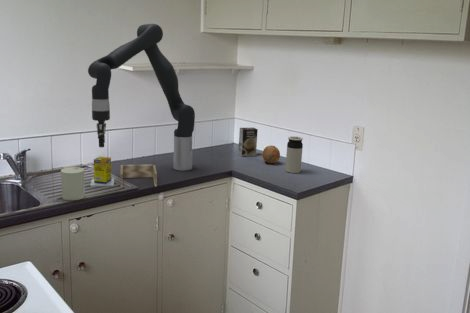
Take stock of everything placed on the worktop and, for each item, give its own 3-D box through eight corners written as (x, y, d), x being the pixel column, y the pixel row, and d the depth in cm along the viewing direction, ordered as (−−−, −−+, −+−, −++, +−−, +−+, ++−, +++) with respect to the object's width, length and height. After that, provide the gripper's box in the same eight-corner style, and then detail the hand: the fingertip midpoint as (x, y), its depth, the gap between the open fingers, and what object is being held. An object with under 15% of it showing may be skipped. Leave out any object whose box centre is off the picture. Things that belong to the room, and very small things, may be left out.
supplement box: (106, 184, 217) (106, 160, 214) (93, 182, 218) (93, 159, 215) (111, 180, 223) (111, 157, 220) (99, 179, 223) (98, 156, 221)
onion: (278, 161, 274) (279, 143, 271) (280, 165, 264) (281, 148, 261) (261, 160, 273) (262, 143, 271) (262, 165, 263) (263, 147, 261)
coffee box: (241, 157, 279) (243, 129, 275) (237, 154, 285) (239, 127, 281) (256, 156, 282) (258, 129, 278) (252, 153, 288) (253, 127, 284)
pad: (114, 179, 226) (114, 178, 226) (113, 186, 217) (113, 184, 216) (91, 180, 224) (91, 178, 224) (90, 186, 214) (90, 185, 214)
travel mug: (294, 174, 249) (297, 140, 244) (282, 171, 254) (284, 137, 249) (303, 171, 254) (306, 138, 250) (291, 168, 259) (293, 135, 255)
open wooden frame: (154, 176, 234) (154, 164, 232) (157, 186, 219) (157, 173, 217) (120, 177, 230) (120, 165, 228) (120, 187, 215) (120, 174, 214)
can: (89, 194, 204) (88, 167, 201) (77, 201, 195) (76, 172, 192) (69, 192, 206) (68, 164, 203) (57, 198, 197) (55, 170, 194)
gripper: (109, 111, 206) (110, 148, 210) (109, 106, 219) (110, 141, 223) (90, 111, 204) (92, 149, 208) (92, 106, 218) (94, 141, 222)
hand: (101, 145), depth 216 cm, fingers open, 8 cm apart
